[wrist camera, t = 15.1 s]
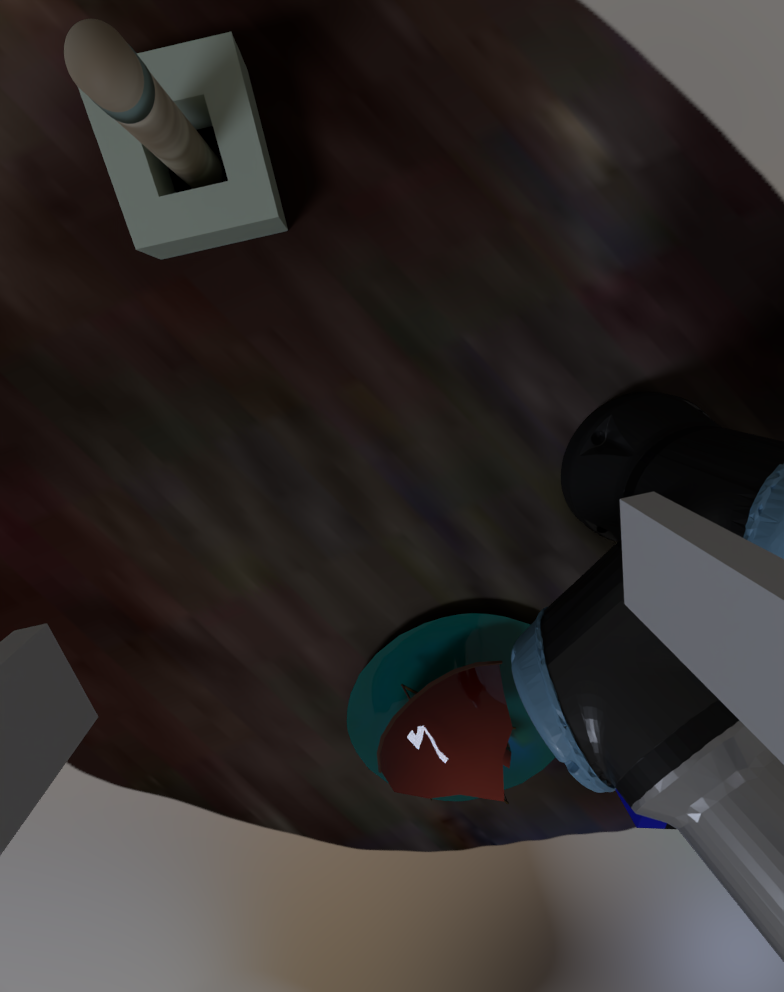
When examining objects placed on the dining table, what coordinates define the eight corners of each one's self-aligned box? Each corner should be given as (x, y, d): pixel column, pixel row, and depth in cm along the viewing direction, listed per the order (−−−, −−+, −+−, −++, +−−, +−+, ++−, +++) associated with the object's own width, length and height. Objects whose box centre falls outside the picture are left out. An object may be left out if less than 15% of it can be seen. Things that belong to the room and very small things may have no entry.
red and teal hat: (461, 559, 49) (487, 619, 39) (620, 690, 56) (679, 770, 46) (300, 719, 55) (285, 808, 44) (463, 819, 62) (483, 916, 52)
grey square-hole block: (247, 69, 35) (231, 31, 30) (288, 230, 38) (278, 216, 34) (107, 102, 35) (71, 68, 30) (161, 259, 38) (135, 249, 34)
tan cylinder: (221, 147, 36) (129, 21, 22) (224, 195, 37) (137, 104, 23) (179, 143, 36) (57, 13, 22) (183, 192, 37) (69, 98, 23)
